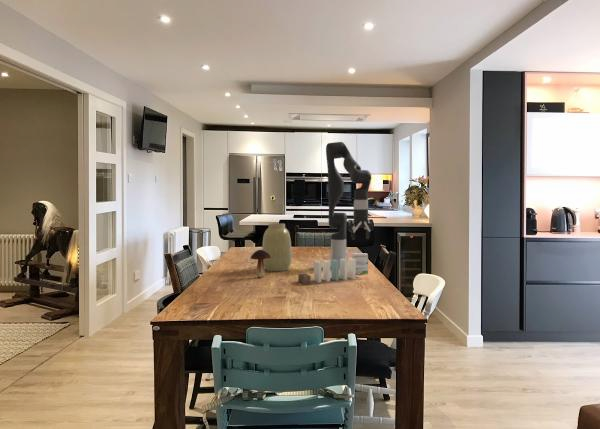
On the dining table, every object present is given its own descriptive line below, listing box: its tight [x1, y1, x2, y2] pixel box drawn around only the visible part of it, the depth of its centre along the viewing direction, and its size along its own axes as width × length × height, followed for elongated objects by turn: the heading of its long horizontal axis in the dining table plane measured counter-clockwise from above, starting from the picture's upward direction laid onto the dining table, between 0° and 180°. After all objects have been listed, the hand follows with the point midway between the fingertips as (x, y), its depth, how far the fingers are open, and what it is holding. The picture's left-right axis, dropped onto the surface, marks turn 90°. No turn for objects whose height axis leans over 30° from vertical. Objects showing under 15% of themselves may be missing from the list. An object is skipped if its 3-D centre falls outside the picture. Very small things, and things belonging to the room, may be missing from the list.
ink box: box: [351, 252, 369, 275], centre depth 247 cm, size 9×5×12 cm, turn 84°
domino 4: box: [339, 259, 348, 280], centre depth 230 cm, size 5×2×10 cm, turn 25°
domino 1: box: [313, 260, 322, 282], centre depth 224 cm, size 5×2×10 cm, turn 25°
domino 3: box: [330, 259, 340, 281], centre depth 228 cm, size 5×2×10 cm, turn 25°
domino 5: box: [347, 257, 357, 279], centre depth 232 cm, size 5×2×10 cm, turn 25°
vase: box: [261, 222, 292, 272], centre depth 262 cm, size 17×17×27 cm
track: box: [293, 272, 363, 286], centre depth 227 cm, size 10×35×5 cm, turn 115°
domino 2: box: [322, 259, 331, 282], centre depth 226 cm, size 5×2×10 cm, turn 25°
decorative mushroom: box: [250, 249, 271, 279], centre depth 238 cm, size 11×11×15 cm
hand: (360, 239), depth 233 cm, fingers open, 8 cm apart
